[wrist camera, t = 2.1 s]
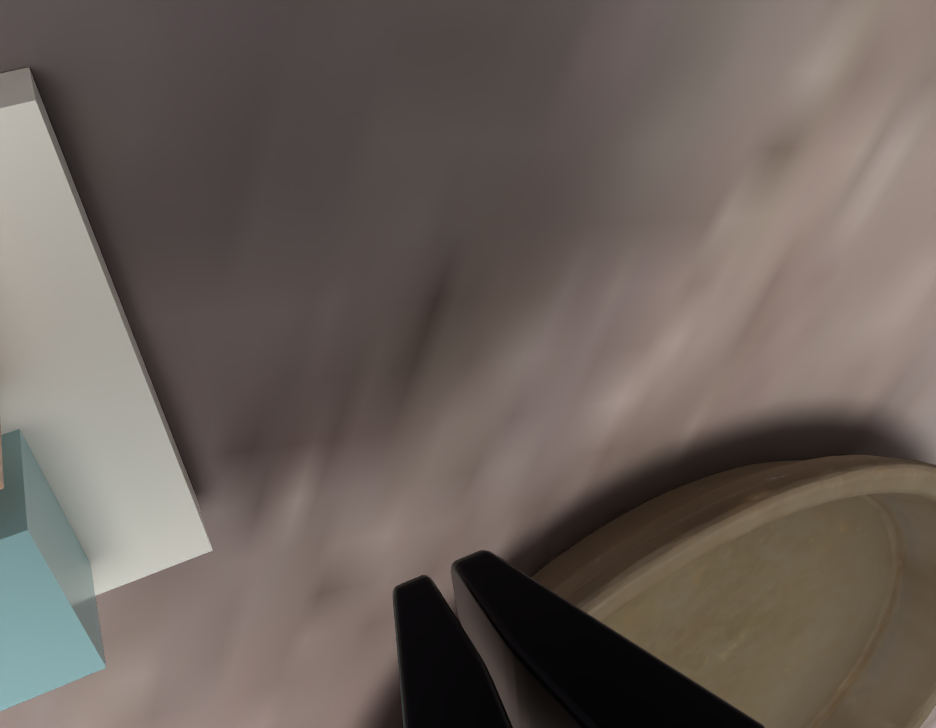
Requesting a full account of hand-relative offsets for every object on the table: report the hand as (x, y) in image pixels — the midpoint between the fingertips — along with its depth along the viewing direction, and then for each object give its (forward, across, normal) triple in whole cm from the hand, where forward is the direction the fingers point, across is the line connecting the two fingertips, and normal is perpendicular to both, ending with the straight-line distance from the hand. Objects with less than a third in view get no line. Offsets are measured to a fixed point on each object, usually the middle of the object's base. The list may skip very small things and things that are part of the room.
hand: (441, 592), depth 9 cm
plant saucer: (+12, -12, +28) cm, 34 cm away
